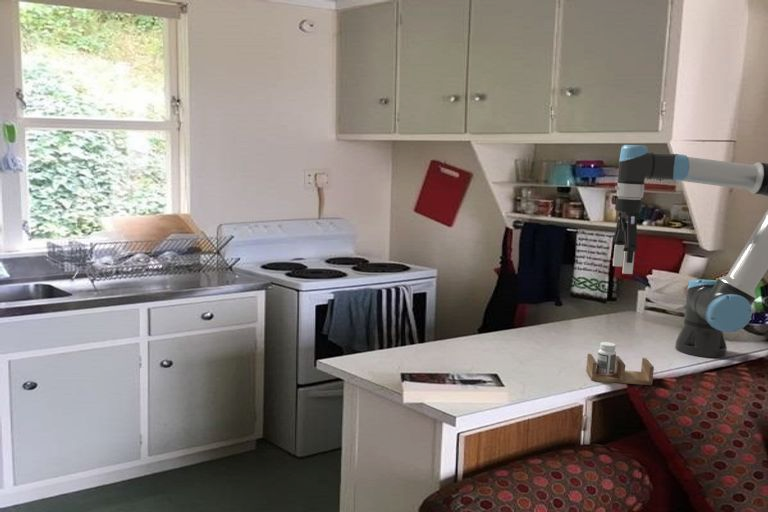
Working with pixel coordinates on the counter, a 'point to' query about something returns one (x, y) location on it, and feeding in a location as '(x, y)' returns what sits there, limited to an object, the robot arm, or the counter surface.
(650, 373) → the rack
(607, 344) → the pill bottle
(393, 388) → the counter surface
